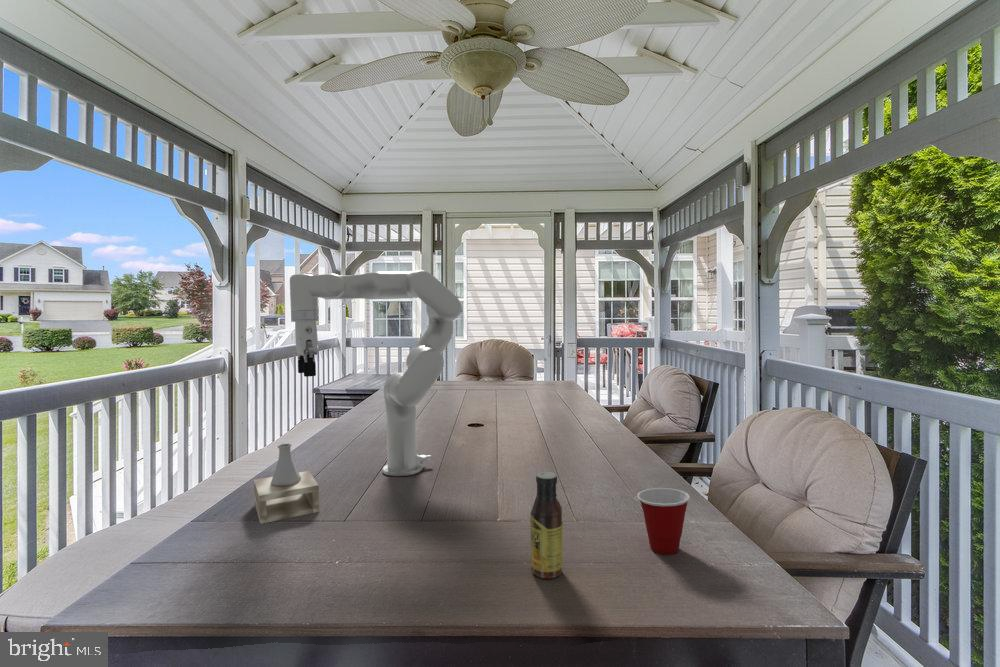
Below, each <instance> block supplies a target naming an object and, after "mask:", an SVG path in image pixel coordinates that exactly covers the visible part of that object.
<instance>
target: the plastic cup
mask: <svg viewBox="0 0 1000 667" xmlns="http://www.w3.org/2000/svg"><path fill="white" fill-rule="evenodd" d="M689 494H690V493H688V492H686V491H683V490H681V489H676V488H667V487H657V488H656V487H654V488H653V487H652V488H648V489H644V490H642V491H639V492H638V493H637V494H636V497H637V499H638V501H639V503H640V504H641V509H642V512H643V517H644V523H645V524H644V525H645V528H646V532H647V537H648V544H649V547H650V549H651V550H652V551H653V553H656V554H659V555H665V556H670V555H675V554H677V553H678V551H679V548H680V544H681V538H682V535H683V529H684V522H685V517H686V512H687V507H688V502H689V500H690V498H691V496H690V495H689Z"/></svg>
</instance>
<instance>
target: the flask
mask: <svg viewBox="0 0 1000 667" xmlns="http://www.w3.org/2000/svg"><path fill="white" fill-rule="evenodd" d="M292 445H293V444H292V443H281V444H278V445H277V449H278V453H279V454H278V459H277V460H278V461H277V464H276V466H275V469H274V470H275V471H274V473H273V476H272V477H273V478H272V481H271V485H276V486H287V485H292V484H294V483H297V482H299V481H300V479H301V477H300V474H299V471H298V469H297V467H296V464H295V462H294V459H293V456H292V450H291V447H292Z"/></svg>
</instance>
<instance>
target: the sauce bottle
mask: <svg viewBox="0 0 1000 667" xmlns="http://www.w3.org/2000/svg"><path fill="white" fill-rule="evenodd" d="M535 482H536V496H535V498H534V503H533V505H532V508H531V511H530V564H531V571H532V573H533V575H534V576H536V577H537V578H539V579H555V578H557V577H560V576H561V574H562V570H563V527H564V526H563V509H562V505H561V504H560V501H558V499H557V497H558V496H557V495H558V494H557V482H558V476H557V474H556V473H555V472H551V471H541V472H538V473H537V474H536V476H535Z"/></svg>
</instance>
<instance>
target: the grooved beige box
mask: <svg viewBox="0 0 1000 667" xmlns="http://www.w3.org/2000/svg"><path fill="white" fill-rule="evenodd" d="M298 472H299V471H298ZM299 474H300V477H301V479H300V481H299V482H297V483H294V484H292V485H287V486H276V485H271V481H272V478H273V476H269V477H262V478H258V479H253V491H254V492H253V495H254V508H255V511H256V514H257V518H258V521H259V524H260V525H261V524H266V523H271V522H276V521H281V520H286V519H291V518H295V517H300V516H305V515H309V514H315V513H320V492H319V490H320V489H319V488H320V487H319V484H318V483H317V481H316V480H315V478H314V476H313V475H312V474H311V473H310V471H309V470H305V471H300V472H299Z"/></svg>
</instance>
